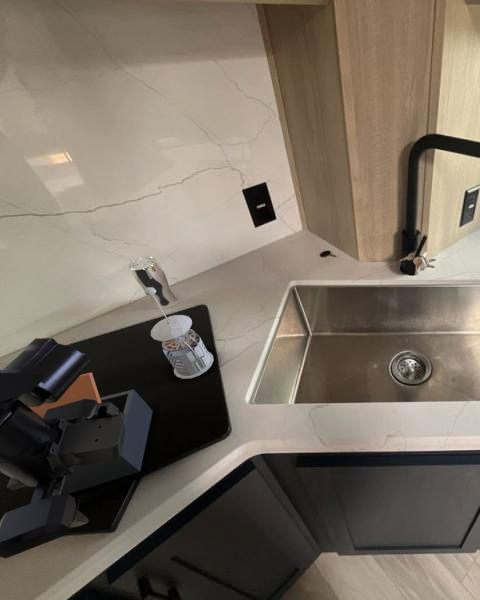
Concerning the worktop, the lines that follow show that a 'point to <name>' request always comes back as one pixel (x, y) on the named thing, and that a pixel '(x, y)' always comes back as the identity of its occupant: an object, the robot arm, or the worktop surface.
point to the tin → (132, 448)
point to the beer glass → (153, 280)
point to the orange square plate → (73, 394)
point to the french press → (181, 344)
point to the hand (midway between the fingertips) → (91, 490)
